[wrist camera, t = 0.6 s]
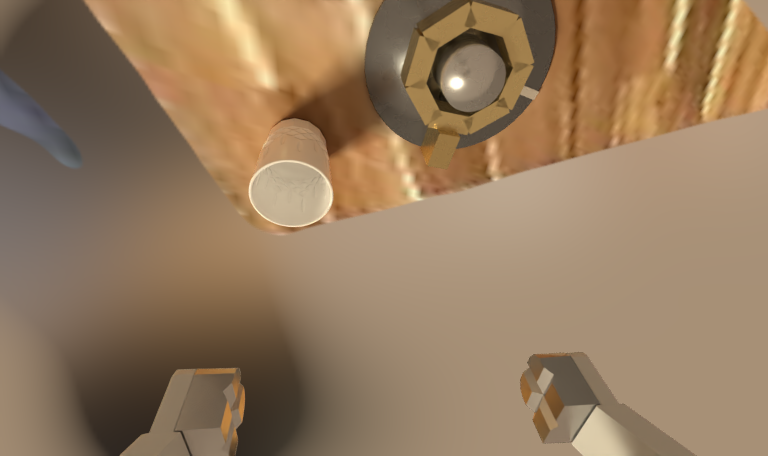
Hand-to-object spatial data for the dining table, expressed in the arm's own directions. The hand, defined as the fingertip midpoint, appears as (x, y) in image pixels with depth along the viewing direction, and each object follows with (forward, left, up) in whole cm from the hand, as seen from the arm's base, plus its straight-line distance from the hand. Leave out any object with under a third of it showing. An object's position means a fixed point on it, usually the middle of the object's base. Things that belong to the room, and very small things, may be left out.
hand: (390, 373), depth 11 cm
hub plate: (+8, +10, -35) cm, 37 cm away
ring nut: (+10, +8, -34) cm, 37 cm away
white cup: (+8, -10, -36) cm, 38 cm away
